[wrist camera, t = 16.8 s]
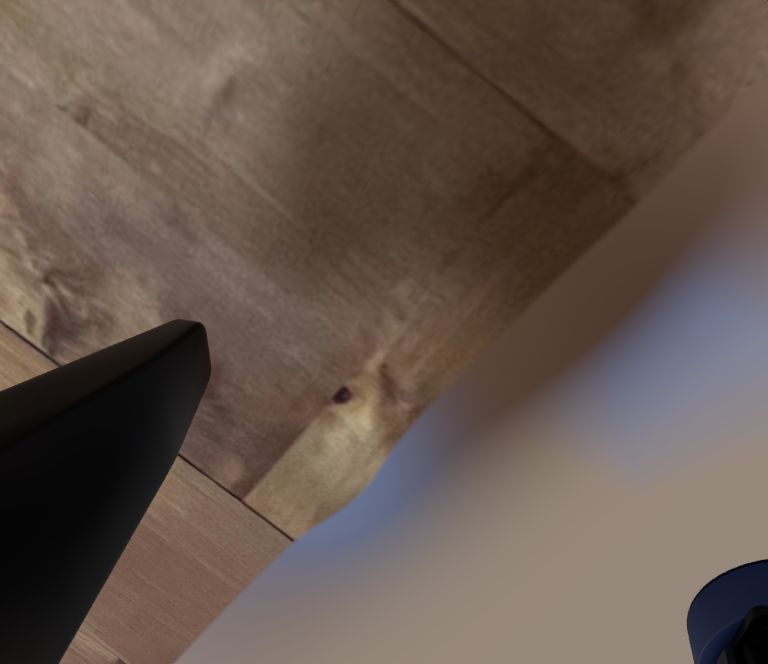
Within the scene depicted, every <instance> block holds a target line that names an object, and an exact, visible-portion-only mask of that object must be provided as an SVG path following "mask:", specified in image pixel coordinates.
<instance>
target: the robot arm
mask: <svg viewBox="0 0 768 664" xmlns="http://www.w3.org/2000/svg"><path fill="white" fill-rule="evenodd" d="M210 376H211V361H210V354H209V347H208V340H207V333H206V329H205V327H204V325H203V324H202V323H200V322H196V321H189V320H181V319H176V320H173V321H170V322H168V323H166V324H163V325H161V326H158V327H156V328H153V329H151V330H149V331H146V332H144V333H141V334H139V335H136V336H134V337H131V338H129V339H127V340H124V341H122V342H119V343H117V344H114V345H112V346H110V347H107V348H105V349H102V350H100V351H97V352H95V353H93V354H90V355H88V356H85V357H83V358H80V359H78V360H76V361H73V362H71V363H68V364H66V365H63V366H61V367H59V368H56V369H54V370H51V371H49V372H46V373H44V374H41V375H39V376H37V377H34V378H32V379H29V380H27V381H24V382H22V383H20V384H17V385H15V386H12V387H10V388H7V389H5V390H3V391H0V664H59V662H60V661H61V659H62V657H63V656H64V654H65V652H66V650H67V649H68V647H69V645H70V643H71V642H72V640H73V638H74V636H75V635H76V633H77V631H78V629H79V628H80V626H81V624H82V622H83V621H84V619H85V617H86V615H87V614H88V612H89V610H90V608H91V607H92V605H93V603H94V601H95V600H96V598H97V596H98V594H99V593H100V591H101V589H102V587H103V586H104V584H105V582H106V580H107V579H108V577H109V575H110V573H111V572H112V570H113V568H114V567H115V565H116V563H117V561H118V560H119V558H120V556H121V554H122V553H123V551H124V549H125V547H126V546H127V544H128V542H129V540H130V539H131V537H132V535H133V533H134V532H135V530H136V528H137V526H138V525H139V523H140V521H141V519H142V518H143V516H144V514H145V512H146V511H147V509H148V507H149V505H150V504H151V502H152V500H153V498H154V497H155V495H156V493H157V491H158V490H159V488H160V486H161V484H162V483H163V481H164V479H165V477H166V476H167V474H168V472H169V470H170V468H171V467H172V465H173V463H174V461H175V459H176V457H177V454H178V452H179V450H180V448H181V446H182V443H183V441H184V439H185V436H186V434H187V432H188V429H189V427H190V425H191V422H192V420H193V418H194V415H195V413H196V411H197V408H198V406H199V404H200V401H201V399H202V397H203V394H204V392H205V389H206V387H207V385H208V382H209V380H210ZM716 664H768V606H767V605H757V606H754V607H752V608H750V609H749V610H748V612H747V614H746V615H745V617H744V619H743V621H742V623H741V625H740V626H739V628H738V630H737V632H736V634H735V635H734V637H733V639H732V641H731V643H730V645H728V646H727V647H726V648H724V649H723V651H722V653H721V654H720V656H719V658H718V660H717V662H716Z"/></svg>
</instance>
